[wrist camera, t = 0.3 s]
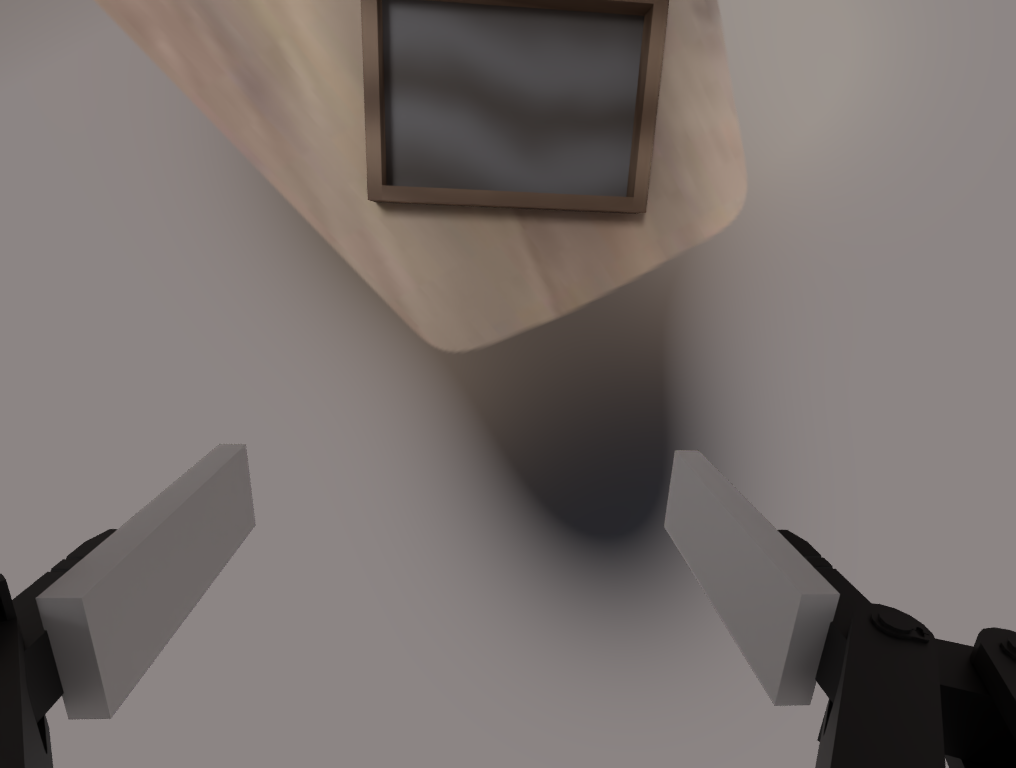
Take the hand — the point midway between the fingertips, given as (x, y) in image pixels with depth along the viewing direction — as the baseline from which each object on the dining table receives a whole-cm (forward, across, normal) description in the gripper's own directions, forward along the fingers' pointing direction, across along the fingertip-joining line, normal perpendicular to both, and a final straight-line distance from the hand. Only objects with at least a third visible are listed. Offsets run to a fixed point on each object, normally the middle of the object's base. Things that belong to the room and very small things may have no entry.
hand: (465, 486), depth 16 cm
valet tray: (+27, +2, +16) cm, 32 cm away
